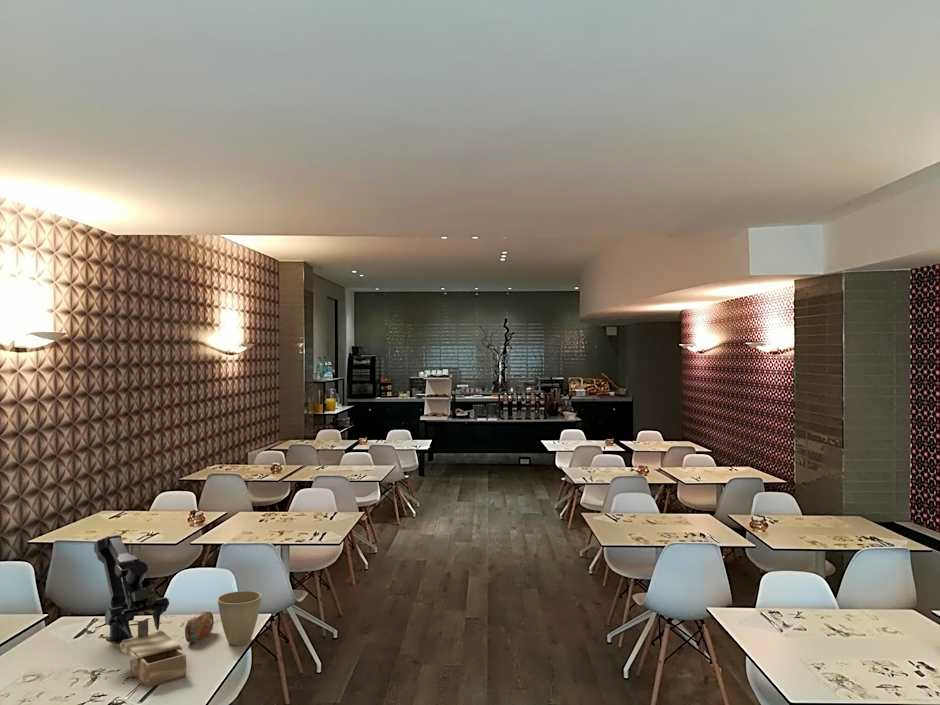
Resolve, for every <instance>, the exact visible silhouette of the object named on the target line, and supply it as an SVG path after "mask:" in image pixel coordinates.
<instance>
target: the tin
mask: <svg viewBox="0 0 940 705" xmlns="http://www.w3.org/2000/svg"><path fill="white" fill-rule="evenodd" d="M214 623H215V622H214V614H213V613H212V612H211V611H201V612H200V613H199V614H197V615H195V616H194V617H192V618H190V619H189V620H188V621H187V623H186V625H185V628H184V634H185V640H186V642H187V643H189V644H193V643H194V644H197V643H199V642H200V641H202V640H203V639H205V638H206V637H208V636H209V635H210V634H211V633H212V631H213V628H214ZM207 635H208V636H207ZM204 637H205V638H204ZM201 639H202V640H201Z"/></svg>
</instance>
